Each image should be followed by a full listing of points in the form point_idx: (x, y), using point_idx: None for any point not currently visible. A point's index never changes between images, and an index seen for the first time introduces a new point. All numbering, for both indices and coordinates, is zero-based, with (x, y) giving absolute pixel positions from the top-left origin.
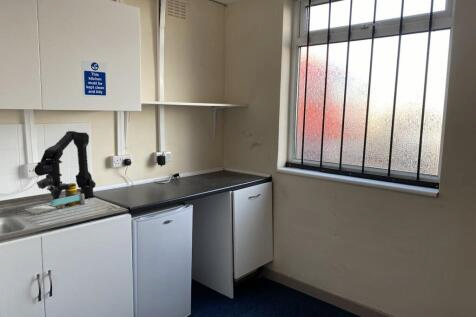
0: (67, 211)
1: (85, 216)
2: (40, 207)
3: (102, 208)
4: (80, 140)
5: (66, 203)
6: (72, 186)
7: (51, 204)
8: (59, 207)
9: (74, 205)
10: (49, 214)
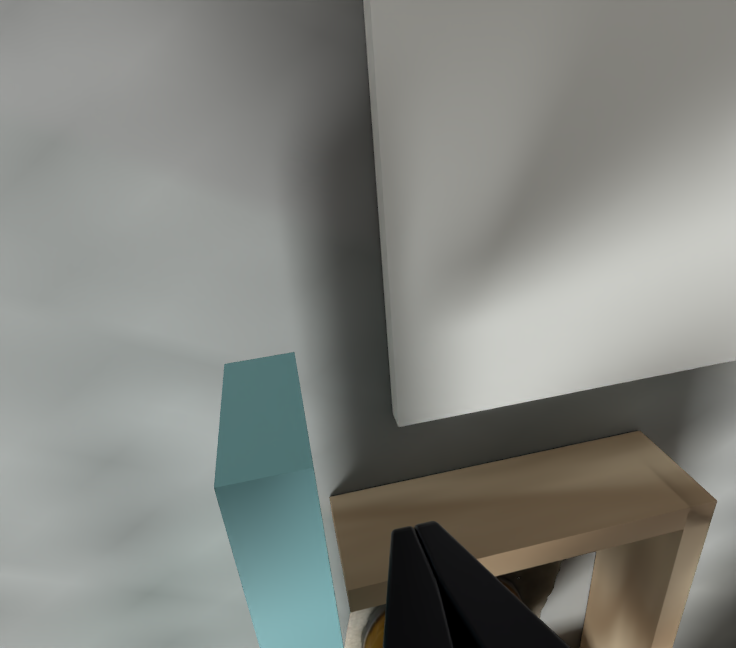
0: (42, 505)
1: None
2: (713, 213)
3: None
4: None
5: None
6: None
7: (285, 378)
8: (452, 471)
9: (363, 644)
10: (20, 147)
